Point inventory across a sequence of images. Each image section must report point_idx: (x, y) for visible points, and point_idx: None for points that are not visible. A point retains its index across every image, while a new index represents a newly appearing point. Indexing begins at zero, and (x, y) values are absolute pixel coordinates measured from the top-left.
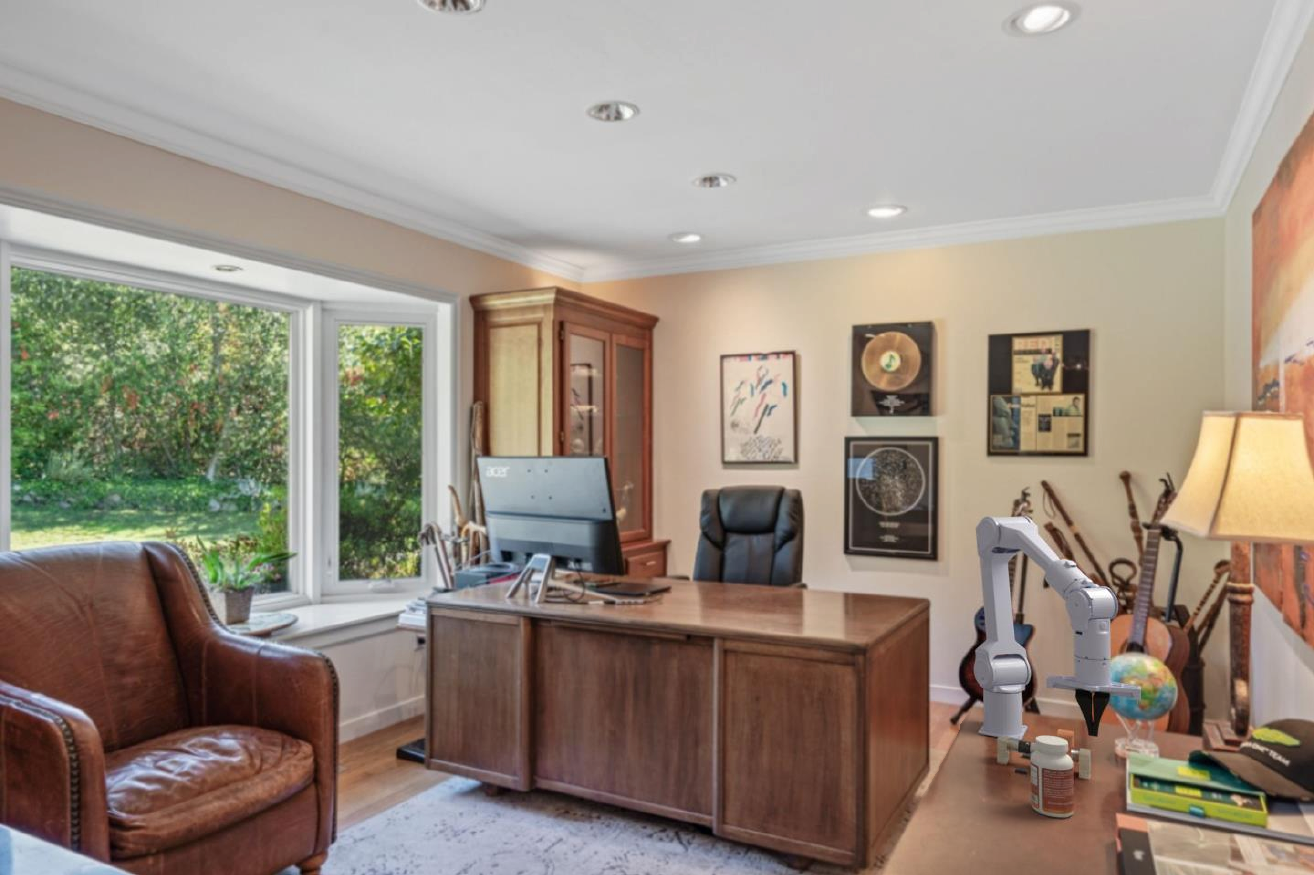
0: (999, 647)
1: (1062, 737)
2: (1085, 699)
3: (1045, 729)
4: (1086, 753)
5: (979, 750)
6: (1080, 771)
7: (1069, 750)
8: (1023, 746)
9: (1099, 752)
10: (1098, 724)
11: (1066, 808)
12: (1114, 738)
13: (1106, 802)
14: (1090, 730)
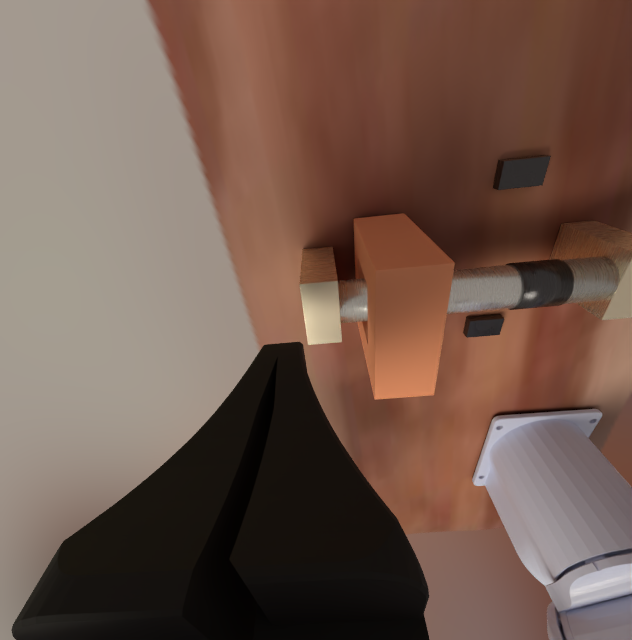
0: None
1: (416, 299)
2: (287, 556)
3: (434, 490)
4: (313, 301)
5: None
6: (328, 253)
7: (373, 251)
8: (547, 268)
9: None
10: (237, 385)
11: None
12: None
13: (190, 22)
14: (288, 356)
